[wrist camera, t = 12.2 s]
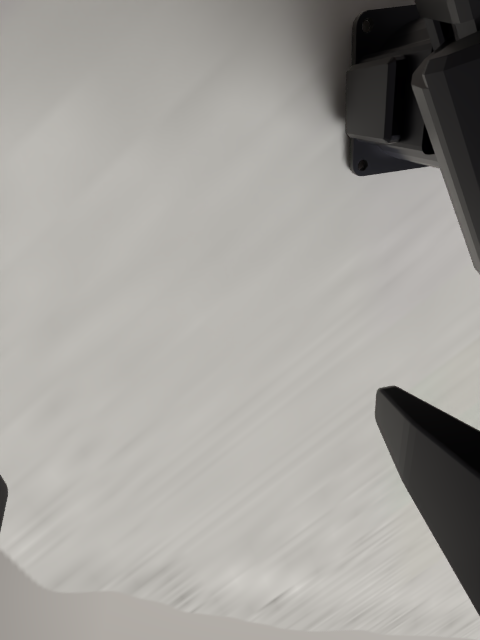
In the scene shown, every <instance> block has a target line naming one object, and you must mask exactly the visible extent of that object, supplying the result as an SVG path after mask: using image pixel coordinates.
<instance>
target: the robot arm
mask: <svg viewBox="0 0 480 640" xmlns="http://www.w3.org/2000/svg"><path fill="white" fill-rule="evenodd" d="M415 3H416V5H409V6H401V7H392V8H384V9H376V10H368V11H365V12H363V13H361V14H360V15H359V16H357V17H356V19H355V21H354V23H353V35H352V66H351V67H350V68H349V70H348V71H347V74H346V133H347V134H348V135H349V136H350V170H351V171H352V173H354V174H355V175H358V176H367V175H373V174H380V173H387V172H393V171H400V170H407V169H414V168H420V167H427V166H432V167H436V168H440V170H441V173H442V175H443V178H444V181H445V184H446V187H447V190H448V193H449V196H450V199H451V201H452V204H453V207H454V210H455V213H456V216H457V219H458V222H459V225H460V228H461V230H462V233H463V236H464V239H465V242H466V245H467V248H468V251H469V254H470V256H471V259H472V262H473V265H474V268H475V269H476V270H477V271H478V273H479V274H480V0H415ZM364 20H367V21H368V22H369V24H370V28H369V31H368V32H367V33H365V32H364V31H363V29H362V24H363V21H364ZM361 160H364V163H365V164H364V167H363V168H362V169H360V170H359V169H358V163H359V162H360V161H361ZM375 419H376V422H377V425H378V427H379V430H380V432H381V434H382V436H383V439H384V441H385V443H386V446H387V448H388V450H389V452H390V455H391V457H392V459H393V461H394V464H395V466H396V468H397V471H398V473H399V475H400V477H401V479H402V481H403V483H404V485H405V487H406V489H407V490H408V492H409V494H410V496H411V497H412V499H413V501H414V503H415V504H416V506H417V508H418V510H419V511H420V513H421V515H422V517H423V518H424V520H425V522H426V524H427V525H428V527H429V529H430V531H431V532H432V534H433V536H434V537H435V539H436V541H437V543H438V544H439V546H440V548H441V550H442V551H443V553H444V555H445V557H446V558H447V560H448V562H449V564H450V565H451V567H452V569H453V571H454V572H455V574H456V576H457V578H458V579H459V581H460V583H461V584H462V586H463V588H464V590H465V591H466V593H467V595H468V597H469V598H470V600H471V602H472V604H473V605H474V607H475V609H476V611H477V612H478V614H479V616H480V431H479V430H477V429H475V428H473V427H471V426H470V425H468V424H466V423H464V422H462V421H460V420H458V419H457V418H455V417H453V416H451V415H449V414H447V413H445V412H443V411H442V410H440V409H438V408H436V407H434V406H432V405H430V404H429V403H427V402H425V401H423V400H421V399H419V398H417V397H415V396H414V395H412V394H410V393H408V392H406V391H404V390H402V389H401V388H399V387H397V386H388V387H382V388H379V389H378V390H377V393H376V405H375ZM7 497H8V488H7V485H6V483H5V482H4V480H3V478H2V477H1V475H0V531H1V526H2V521H3V516H4V512H5V507H6V502H7Z"/></svg>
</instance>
